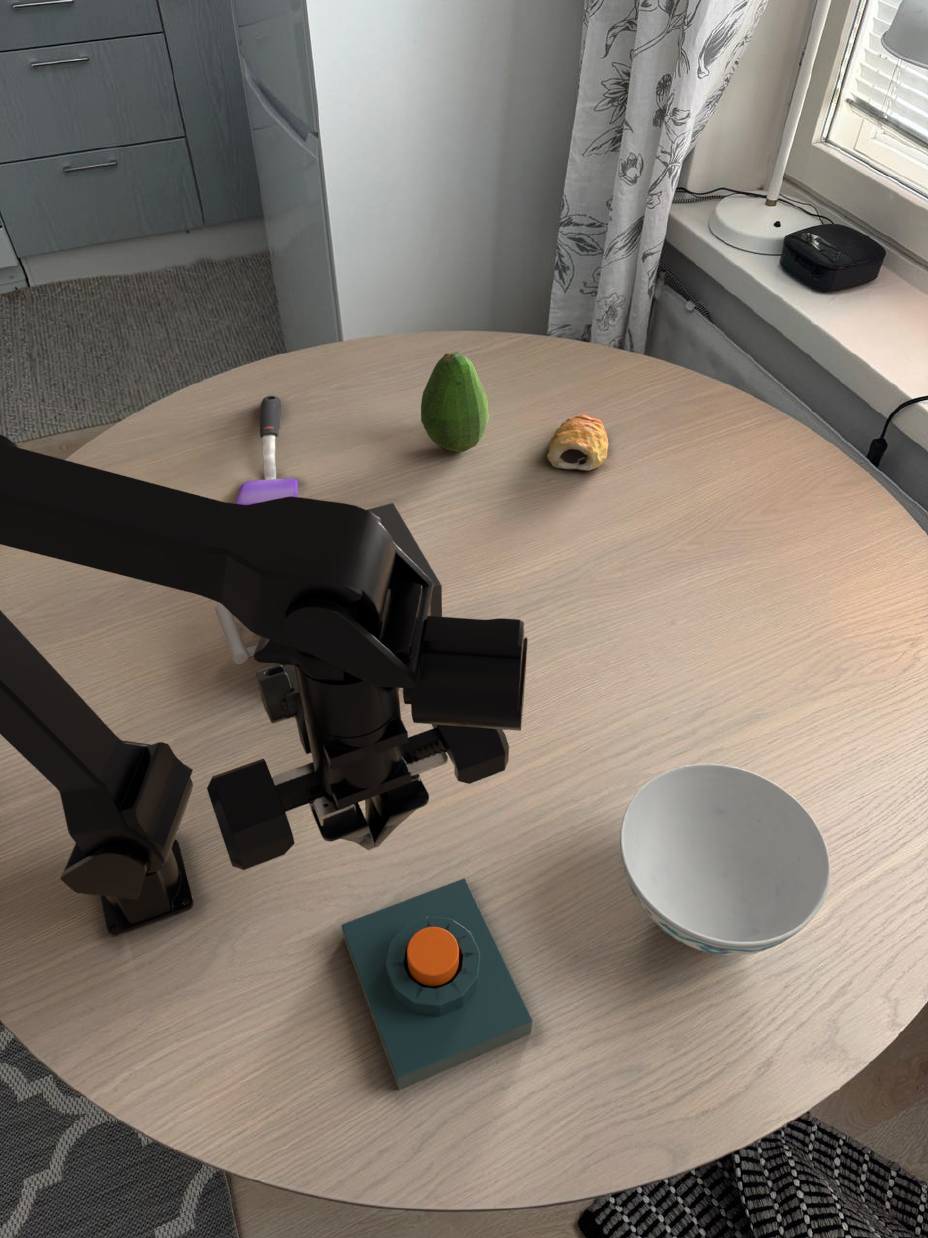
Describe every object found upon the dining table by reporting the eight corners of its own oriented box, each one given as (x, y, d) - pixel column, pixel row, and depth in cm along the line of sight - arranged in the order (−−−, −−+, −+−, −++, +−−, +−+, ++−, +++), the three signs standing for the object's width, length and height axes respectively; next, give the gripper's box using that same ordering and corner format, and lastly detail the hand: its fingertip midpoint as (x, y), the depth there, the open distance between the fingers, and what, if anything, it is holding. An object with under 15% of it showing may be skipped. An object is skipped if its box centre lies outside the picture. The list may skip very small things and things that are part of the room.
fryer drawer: (245, 706, 90) (231, 647, 84) (216, 623, 97) (202, 564, 92) (418, 653, 95) (415, 594, 89) (378, 577, 102) (373, 519, 96)
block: (531, 1033, 70) (534, 1009, 68) (398, 1091, 68) (396, 1068, 65) (464, 891, 78) (465, 865, 75) (343, 938, 75) (338, 912, 72)
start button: (466, 975, 70) (466, 963, 68) (418, 994, 69) (418, 983, 67) (447, 931, 72) (446, 919, 71) (400, 949, 71) (399, 937, 70)
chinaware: (654, 1018, 71) (670, 969, 66) (581, 842, 81) (590, 787, 76) (841, 965, 74) (872, 914, 68) (748, 801, 84) (769, 745, 79)
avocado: (467, 420, 123) (468, 332, 115) (499, 453, 119) (502, 364, 110) (410, 437, 121) (406, 349, 112) (439, 472, 116) (438, 383, 107)
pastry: (560, 423, 123) (562, 397, 120) (614, 432, 122) (618, 405, 119) (544, 468, 117) (547, 441, 114) (601, 477, 115) (605, 450, 113)
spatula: (246, 403, 126) (243, 386, 124) (300, 400, 126) (298, 383, 125) (237, 525, 109) (233, 507, 107) (299, 521, 110) (297, 503, 108)
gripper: (441, 570, 67) (446, 717, 78) (163, 657, 61) (211, 802, 72) (515, 685, 59) (509, 829, 71) (208, 795, 54) (254, 932, 65)
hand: (370, 843), depth 70 cm, fingers closed
